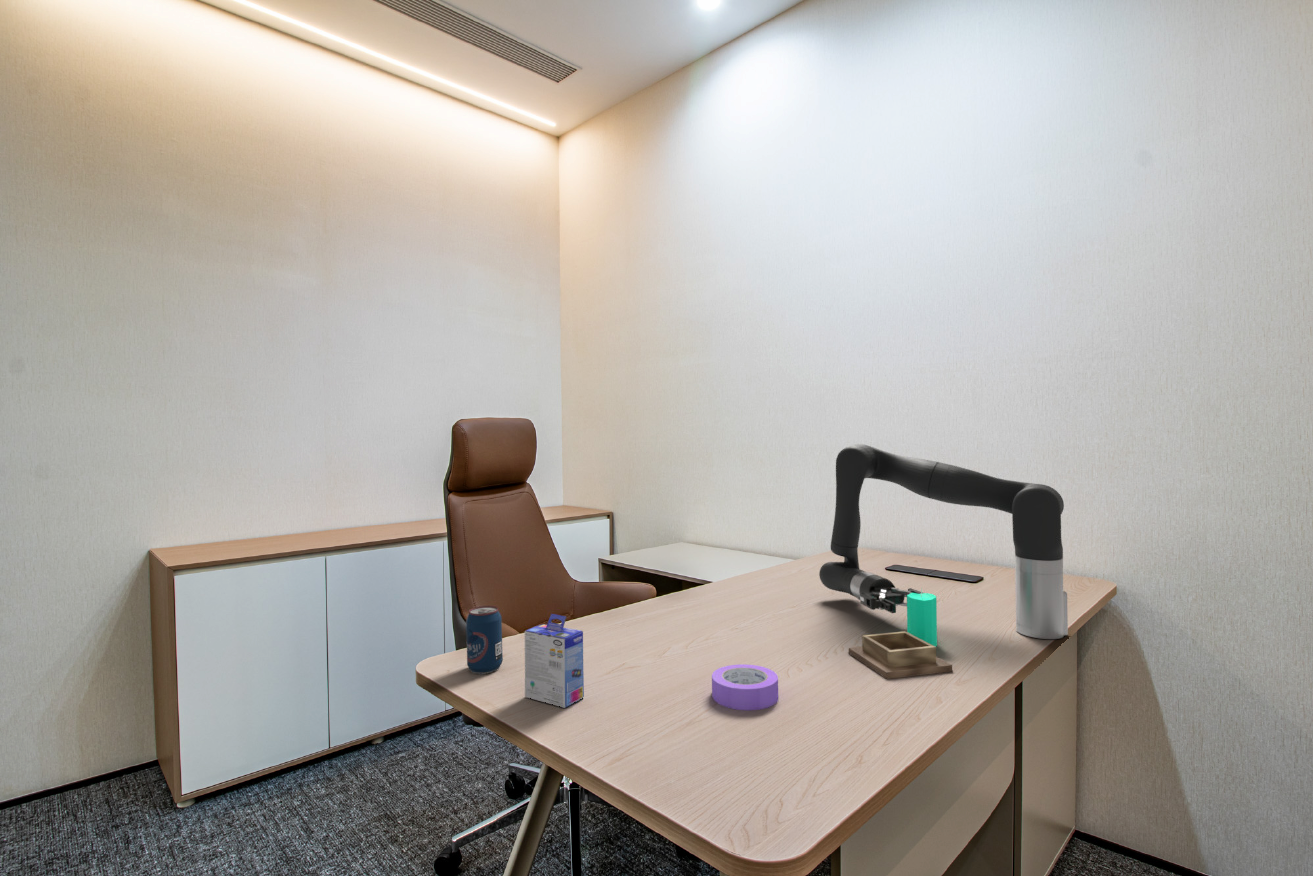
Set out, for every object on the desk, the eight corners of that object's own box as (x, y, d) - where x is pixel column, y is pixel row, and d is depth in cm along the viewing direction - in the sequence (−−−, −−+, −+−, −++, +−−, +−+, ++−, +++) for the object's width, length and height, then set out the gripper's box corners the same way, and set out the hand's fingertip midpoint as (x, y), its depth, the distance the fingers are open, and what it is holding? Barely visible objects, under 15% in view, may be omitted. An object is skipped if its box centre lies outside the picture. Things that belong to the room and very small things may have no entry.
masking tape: (710, 684, 119) (710, 663, 119) (773, 683, 118) (772, 663, 118) (714, 711, 107) (713, 689, 107) (783, 711, 107) (783, 688, 107)
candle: (941, 643, 137) (940, 588, 137) (931, 650, 133) (930, 593, 133) (913, 637, 141) (912, 583, 141) (902, 644, 137) (902, 589, 137)
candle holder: (908, 647, 135) (908, 627, 135) (952, 671, 122) (951, 649, 122) (848, 653, 132) (848, 633, 132) (886, 678, 119) (886, 656, 119)
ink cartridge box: (586, 698, 113) (584, 617, 113) (566, 710, 109) (564, 625, 108) (544, 687, 119) (542, 610, 118) (523, 698, 114) (521, 617, 114)
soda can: (460, 672, 127) (458, 613, 126) (481, 660, 133) (480, 603, 133) (488, 677, 124) (487, 616, 124) (509, 664, 130) (508, 606, 130)
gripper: (845, 576, 155) (882, 592, 139) (898, 572, 158) (940, 587, 142) (846, 607, 155) (883, 626, 139) (898, 602, 158) (940, 621, 142)
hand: (911, 607), depth 141 cm, fingers open, 8 cm apart
